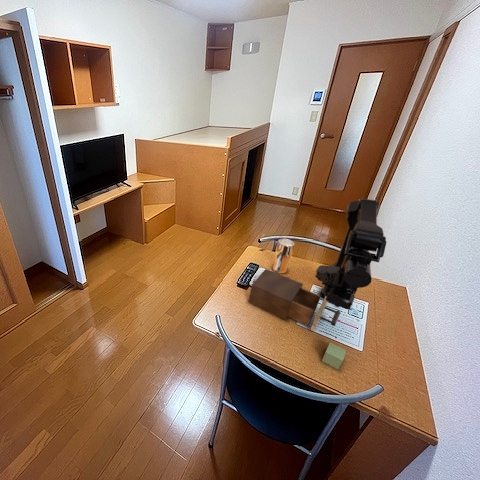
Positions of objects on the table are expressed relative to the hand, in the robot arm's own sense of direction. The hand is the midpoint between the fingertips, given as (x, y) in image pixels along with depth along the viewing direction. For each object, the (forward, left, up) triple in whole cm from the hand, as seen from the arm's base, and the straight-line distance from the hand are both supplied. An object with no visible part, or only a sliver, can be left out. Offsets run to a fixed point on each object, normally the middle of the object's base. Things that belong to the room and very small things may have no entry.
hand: (336, 306), depth 84 cm
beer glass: (-26, -26, -13) cm, 38 cm away
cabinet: (-3, -20, -13) cm, 24 cm away
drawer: (-3, -7, -12) cm, 14 cm away
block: (+10, +4, -13) cm, 17 cm away
